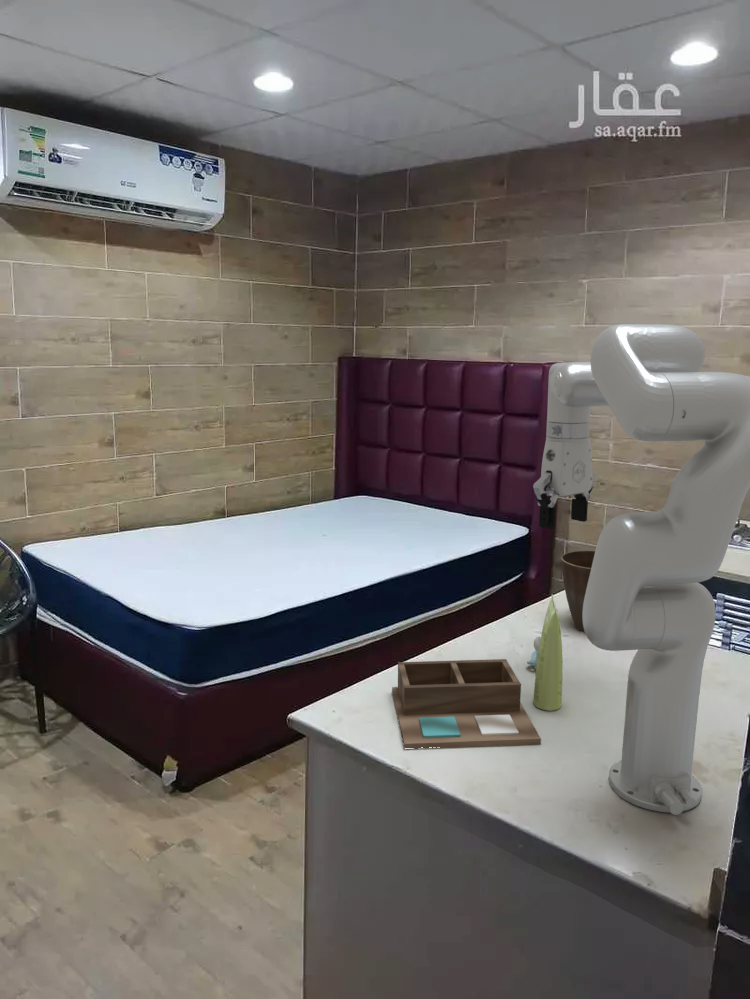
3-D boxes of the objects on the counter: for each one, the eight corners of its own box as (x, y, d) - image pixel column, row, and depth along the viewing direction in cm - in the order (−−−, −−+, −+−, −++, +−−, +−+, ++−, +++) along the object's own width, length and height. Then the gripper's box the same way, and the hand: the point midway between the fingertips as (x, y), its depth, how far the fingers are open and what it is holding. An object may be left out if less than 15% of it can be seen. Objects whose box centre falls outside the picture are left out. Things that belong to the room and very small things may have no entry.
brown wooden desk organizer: (540, 744, 123) (542, 710, 121) (404, 749, 121) (404, 714, 120) (509, 688, 142) (511, 658, 141) (392, 692, 140) (392, 661, 139)
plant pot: (544, 626, 173) (547, 558, 169) (580, 610, 183) (584, 546, 179) (602, 645, 162) (607, 573, 159) (638, 628, 172) (643, 559, 169)
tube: (570, 708, 135) (576, 603, 131) (549, 715, 132) (555, 608, 128) (546, 695, 139) (552, 593, 135) (526, 702, 137) (531, 599, 132)
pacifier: (562, 664, 154) (533, 657, 156) (565, 634, 152) (535, 629, 155) (554, 678, 147) (523, 671, 150) (557, 648, 146) (526, 641, 148)
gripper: (555, 436, 130) (551, 534, 133) (612, 430, 141) (607, 520, 144) (520, 433, 135) (517, 527, 139) (578, 427, 147) (573, 514, 150)
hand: (563, 524), depth 141 cm, fingers open, 9 cm apart
